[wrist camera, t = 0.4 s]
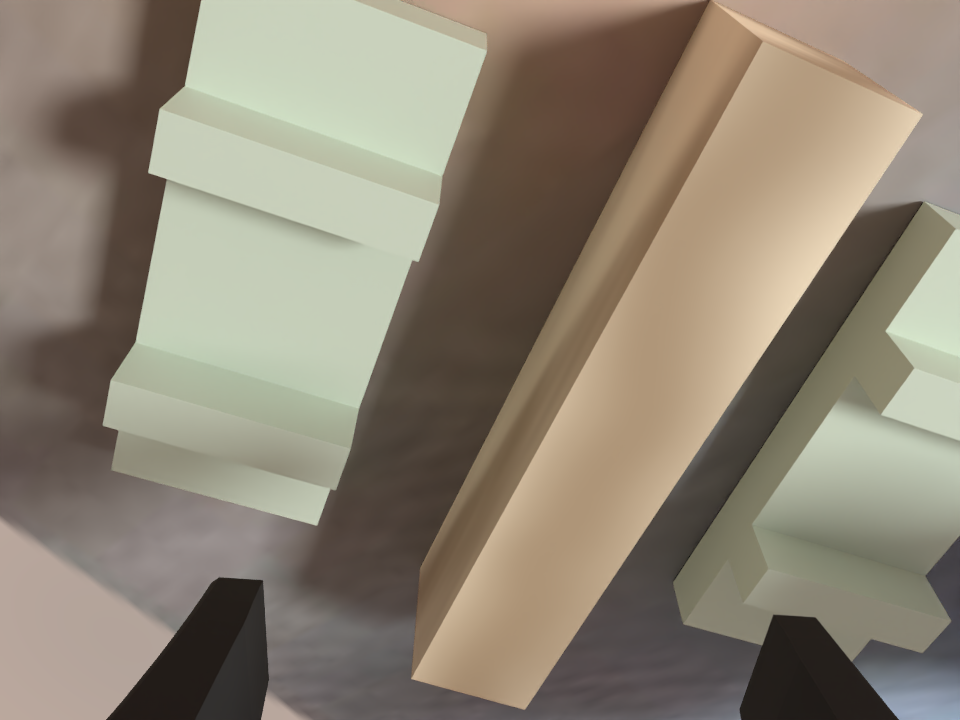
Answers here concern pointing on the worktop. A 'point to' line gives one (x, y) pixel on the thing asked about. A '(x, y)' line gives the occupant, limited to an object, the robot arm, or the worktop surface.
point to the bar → (649, 342)
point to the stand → (377, 286)
